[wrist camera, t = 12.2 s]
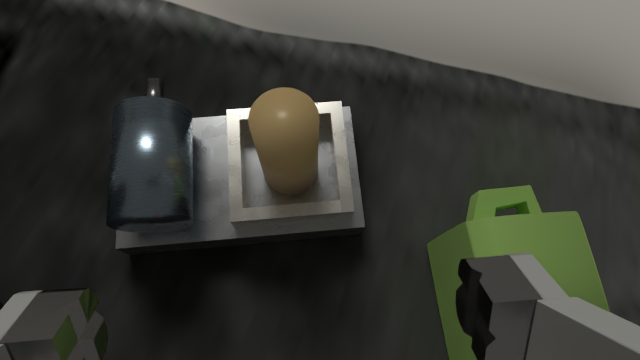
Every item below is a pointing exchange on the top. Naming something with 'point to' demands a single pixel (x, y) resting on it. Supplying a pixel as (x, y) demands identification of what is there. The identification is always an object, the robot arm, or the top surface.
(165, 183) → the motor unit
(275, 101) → the tan knob head
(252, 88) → the top surface
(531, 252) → the gearbox
